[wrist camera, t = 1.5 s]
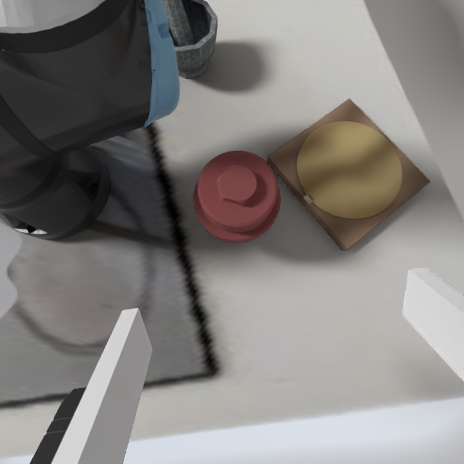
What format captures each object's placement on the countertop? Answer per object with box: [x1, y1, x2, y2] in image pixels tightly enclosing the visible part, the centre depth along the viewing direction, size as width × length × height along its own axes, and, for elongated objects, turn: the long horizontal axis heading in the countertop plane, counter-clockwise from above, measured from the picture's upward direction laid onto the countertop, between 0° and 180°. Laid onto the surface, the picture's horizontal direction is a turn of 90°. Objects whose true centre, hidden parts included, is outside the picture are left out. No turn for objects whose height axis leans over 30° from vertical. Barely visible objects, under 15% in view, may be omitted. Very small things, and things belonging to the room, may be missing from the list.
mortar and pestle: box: [162, 0, 217, 79], centre depth 39 cm, size 11×9×12 cm
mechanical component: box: [193, 151, 280, 242], centre depth 33 cm, size 12×10×10 cm
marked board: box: [267, 99, 430, 250], centre depth 40 cm, size 17×16×2 cm
